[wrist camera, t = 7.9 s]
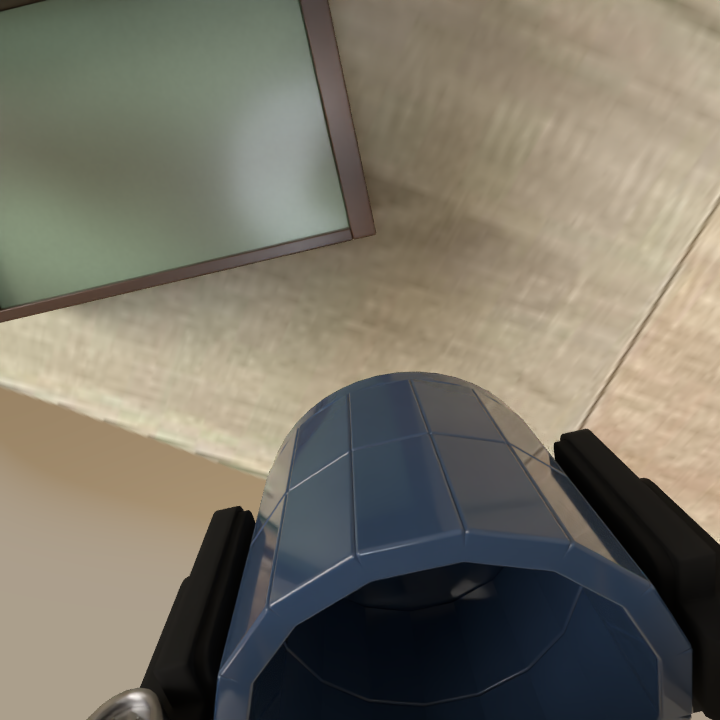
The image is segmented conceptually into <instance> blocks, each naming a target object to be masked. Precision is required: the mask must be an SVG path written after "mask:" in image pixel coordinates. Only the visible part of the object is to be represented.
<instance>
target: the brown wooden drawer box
mask: <svg viewBox="0 0 720 720" xmlns="http://www.w3.org/2000/svg"><path fill="white" fill-rule="evenodd" d="M375 234H376V230H375V225H374V220H373V215H372V210H371V206H370V201H369V196H368V191H367V186H366V182H365V177H364V172H363V167H362V162H361V157H360V153H359V148H358V143H357V138H356V133H355V128H354V124H353V119H352V114H351V109H350V104H349V99H348V95H347V90H346V85H345V80H344V75H343V70H342V66H341V61H340V56H339V51H338V46H337V41H336V37H335V32H334V27H333V22H332V17H331V12H330V8H329V3H328V0H0V323H1V322H5V321H10V320H14V319H18V318H23V317H27V316H31V315H35V314H40V313H44V312H48V311H52V310H57V309H61V308H65V307H69V306H74V305H78V304H82V303H86V302H91V301H95V300H99V299H103V298H108V297H112V296H116V295H121V294H125V293H129V292H133V291H138V290H142V289H146V288H150V287H155V286H159V285H163V284H167V283H172V282H176V281H180V280H184V279H189V278H193V277H197V276H202V275H206V274H210V273H214V272H219V271H223V270H227V269H231V268H236V267H240V266H244V265H248V264H253V263H257V262H261V261H265V260H270V259H274V258H278V257H282V256H287V255H291V254H295V253H300V252H304V251H308V250H312V249H317V248H321V247H325V246H329V245H334V244H338V243H342V242H346V241H351V240H353V239H359V238H363V237H368V236H372V235H375Z"/></svg>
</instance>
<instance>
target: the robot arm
mask: <svg viewBox="0 0 720 720" xmlns="http://www.w3.org/2000/svg"><path fill="white" fill-rule="evenodd" d="M554 455H555V461H556V462H557V463H558V465H559V466H560V467H561V468H562V470H563V471H564V472H565V473H566V475H567V476H568V477H569V479H570V480H571V482H573V484H574V485H575V486H576V487H577V489H578V490H579V491H580V492H581V494H582V495H583V496H584V498H585V499H586V500H587V501H588V503H589V504H590V505H591V506H592V508H593V509H594V510H595V512H596V513H597V514H598V515H599V517H600V518H601V519H602V520H603V522H604V523H605V524H606V525H607V527H608V528H609V529H610V531H611V532H612V533H613V534H614V536H615V537H616V538H617V539H618V541H619V542H620V543H621V544H622V546H623V547H624V548H625V550H626V551H627V552H628V553H629V555H630V556H631V557H632V558H633V560H634V561H635V562H636V564H637V565H638V566H639V567H640V569H641V570H642V571H643V572H644V574H645V575H646V576H647V577H648V579H649V580H650V581H651V583H652V584H653V585H654V586H655V588H656V590H657V591H658V593H659V594H660V596H661V597H662V599H663V600H664V602H665V603H666V605H667V607H668V608H669V610H670V611H671V613H672V614H673V616H674V617H675V619H676V620H677V622H678V624H679V625H680V627H681V628H682V630H683V631H684V633H685V634H686V636H687V637H688V639H689V640H690V642H691V646H692V649H693V713H695V712H700V711H703V713H704V714H705V716H706V717H708V718H710V719H712V720H720V545H719V544H718V543H717V542H716V541H715V540H714V539H713V538H712V537H711V536H710V535H709V534H708V533H707V532H706V531H705V530H704V529H702V528H701V527H700V526H699V525H698V524H697V523H696V522H695V521H694V520H693V519H692V518H691V517H690V516H689V515H688V514H687V513H685V512H684V511H683V510H682V509H681V508H680V507H679V506H678V505H677V504H676V503H675V502H674V501H673V500H672V499H671V498H670V497H668V496H667V495H666V494H665V493H664V492H663V491H662V490H661V489H660V488H659V487H658V486H657V485H656V484H655V483H653V482H652V481H651V480H649V479H647V478H640V479H639V478H638V477H637V476H636V475H635V474H634V473H633V472H632V471H631V470H630V469H629V468H628V467H627V466H626V465H625V464H624V463H623V462H622V461H621V460H620V459H619V458H618V457H617V456H616V455H615V454H614V453H613V452H612V451H611V450H610V449H609V448H608V447H607V446H606V445H605V444H604V443H602V442H601V441H600V440H599V439H598V438H597V437H596V436H595V435H594V434H593V433H592V432H591V431H590V430H589V429H583V430H578V431H574V432H569V433H565V434H562V435H561V438H560V441H559V442H555V443H554ZM255 524H256V523H255V520H254V518H253V515H252V513H251V512H250V511H249V510H247V511H243V509H242V508H241V507H240V506H236V507H232V508H227V509H223V510H218V511H216V512H215V513H214V514H213V517H212V519H211V522H210V525H209V527H208V530H207V533H206V535H205V537H204V540H203V543H202V545H201V548H200V551H199V553H198V555H197V558H196V561H195V563H194V566H193V569H192V571H191V574H190V576H189V577H187V578H185V579H184V581H183V582H182V584H181V586H180V589H179V591H178V594H177V597H176V599H175V601H174V604H173V606H172V609H171V611H170V614H169V616H168V619H167V621H166V624H165V626H164V629H163V631H162V634H161V636H160V639H159V641H158V644H157V646H156V649H155V651H154V654H153V656H152V659H151V661H150V664H149V666H148V669H147V671H146V674H145V677H144V679H143V681H142V684H141V686H140V688H135V689H130V690H126V691H124V692H122V693H120V694H118V695H116V696H114V697H112V698H111V699H109V700H108V701H107V702H105V703H104V704H102V705H101V706H100V707H99V708H98V709H97V710H96V711H95V712H94V713H93V714H92V715H91V716H90V717H89V718H88V719H87V720H213V717H214V706H215V696H216V685H217V676H218V672H219V668H220V664H221V660H222V656H223V652H224V648H225V644H226V640H227V636H228V632H229V628H230V624H231V620H232V616H233V612H234V608H235V604H236V600H237V596H238V592H239V588H240V584H241V580H242V576H243V572H244V568H245V564H246V560H247V556H248V552H249V549H250V544H251V540H252V536H253V532H254V528H255Z"/></svg>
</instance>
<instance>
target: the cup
mask: <svg viewBox="0 0 720 720" xmlns="http://www.w3.org/2000/svg"><path fill="white" fill-rule="evenodd" d="M692 713H693V649H692V646H691V642H690V640H689V639H688V637H687V636H686V634H685V633H684V631H683V630H682V628H681V627H680V625H679V624H678V622H677V620H676V619H675V617H674V616H673V614H672V613H671V611H670V610H669V608H668V607H667V605H666V603H665V602H664V600H663V599H662V597H661V596H660V594H659V593H658V591H657V590H656V588H655V586H654V585H653V584H652V583H651V581H650V580H649V579H648V577H647V576H646V575H645V574H644V572H643V571H642V570H641V569H640V567H639V566H638V565H637V564H636V562H635V561H634V560H633V558H632V557H631V556H630V555H629V553H628V552H627V551H626V550H625V548H624V547H623V546H622V544H621V543H620V542H619V541H618V539H617V538H616V537H615V536H614V534H613V533H612V532H611V531H610V529H609V528H608V527H607V525H606V524H605V523H604V522H603V520H602V519H601V518H600V517H599V515H598V514H597V513H596V512H595V510H594V509H593V508H592V506H591V505H590V504H589V503H588V501H587V500H586V499H585V498H584V496H583V495H582V494H581V492H580V491H579V490H578V489H577V487H576V486H575V485H574V484H573V482H571V480H570V479H569V477H568V476H567V475H566V473H565V472H564V471H563V470H562V468H561V467H560V466H559V465H558V463H557V462H556V461H555V460H554V458H553V457H552V456H551V454H550V453H549V452H548V451H547V449H546V448H545V447H544V446H543V444H542V443H541V442H540V440H539V439H538V438H537V437H536V435H535V434H534V433H533V432H532V430H531V429H530V428H529V427H528V425H527V424H526V423H525V421H524V420H523V419H522V418H520V416H519V415H517V414H516V413H515V412H514V411H513V410H512V409H511V408H510V407H509V406H507V405H506V404H505V403H504V402H503V401H502V400H500V399H499V398H497V397H496V396H495V395H493V394H492V393H490V392H489V391H487V390H485V389H483V388H481V387H479V386H477V385H475V384H473V383H470V382H467V381H465V380H462V379H459V378H456V377H452V376H447V375H442V374H437V373H427V372H397V373H391V374H385V375H379V376H375V377H371V378H368V379H364V380H361V381H358V382H356V383H353V384H351V385H349V386H346V387H344V388H342V389H340V390H338V391H336V392H334V393H333V394H331V395H329V396H328V397H326V398H324V399H323V400H322V401H320V402H319V403H318V404H316V405H315V406H314V407H313V408H311V409H310V410H309V411H308V412H307V413H306V414H305V415H304V416H303V417H302V418H301V419H300V420H299V421H298V422H297V423H296V424H295V425H294V427H293V428H292V430H291V431H290V432H289V434H288V435H287V436H286V438H285V439H284V441H283V443H282V445H281V447H280V449H279V450H278V452H277V455H276V458H275V460H274V463H273V466H272V468H271V469H270V471H269V475H268V476H267V480H266V485H265V489H264V492H263V497H262V500H261V504H260V508H259V512H258V516H257V520H256V524H255V528H254V532H253V536H252V540H251V544H250V549H249V552H248V556H247V560H246V564H245V568H244V572H243V576H242V580H241V584H240V588H239V592H238V596H237V600H236V604H235V608H234V612H233V616H232V620H231V624H230V628H229V632H228V636H227V640H226V644H225V648H224V652H223V656H222V660H221V664H220V668H219V672H218V676H217V685H216V696H215V706H214V717H213V720H691V714H692Z"/></svg>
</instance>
